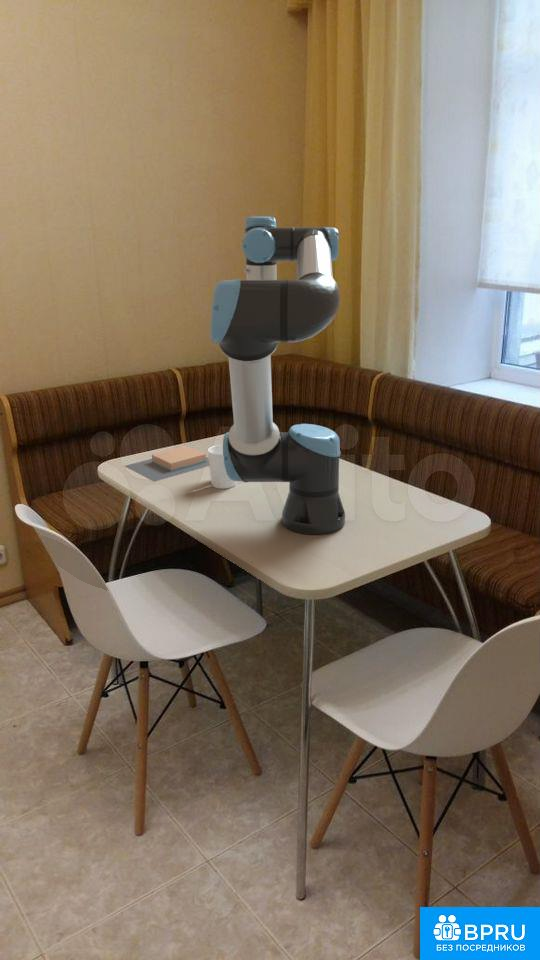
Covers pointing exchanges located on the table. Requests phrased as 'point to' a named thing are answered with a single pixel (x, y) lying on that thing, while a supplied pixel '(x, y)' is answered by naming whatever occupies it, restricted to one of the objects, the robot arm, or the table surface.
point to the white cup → (218, 468)
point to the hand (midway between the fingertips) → (262, 375)
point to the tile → (178, 458)
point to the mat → (160, 469)
